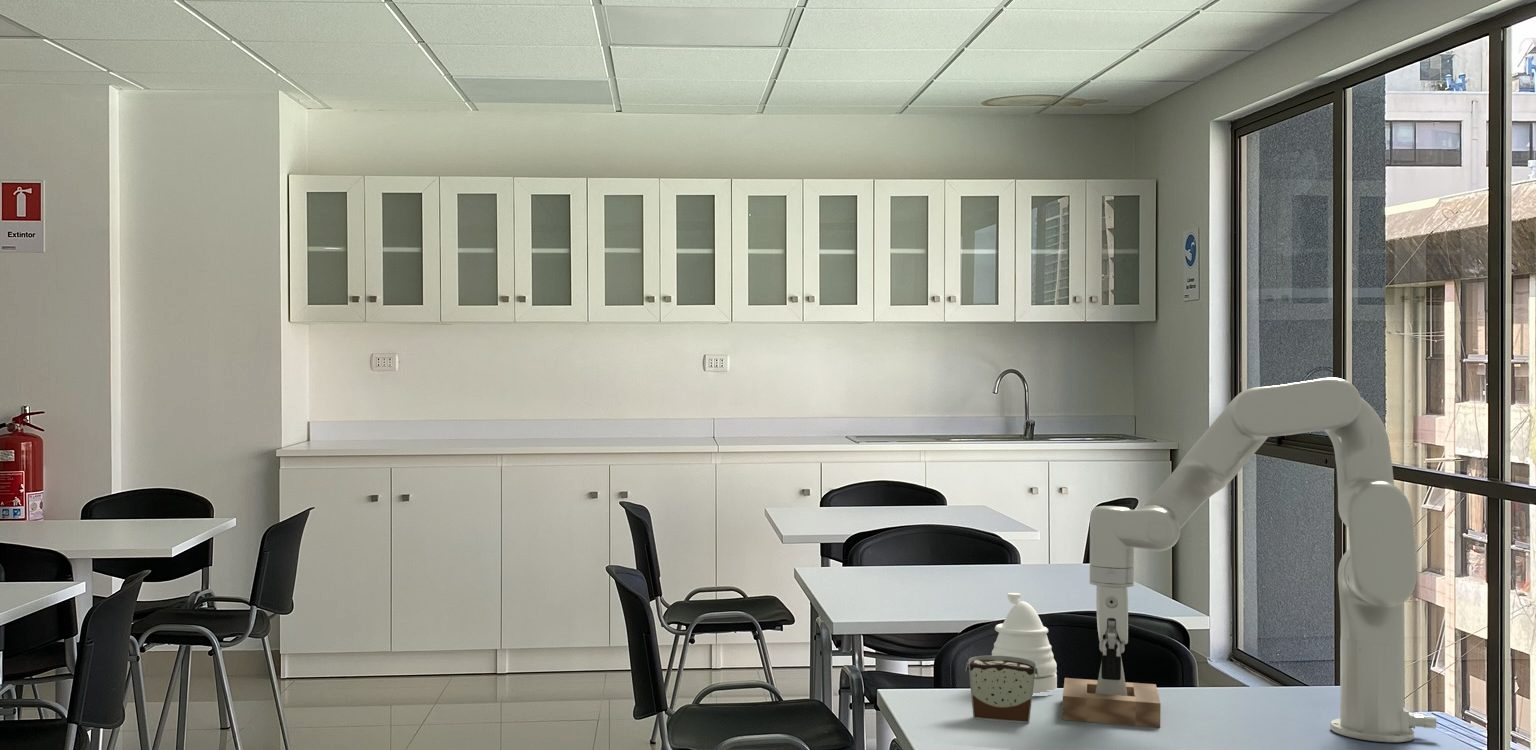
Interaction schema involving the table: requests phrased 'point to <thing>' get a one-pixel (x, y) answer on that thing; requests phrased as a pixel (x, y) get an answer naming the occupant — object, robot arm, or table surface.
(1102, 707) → the brown wooden square frame
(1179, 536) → the robot arm
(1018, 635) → the honey pot
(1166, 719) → the table surface
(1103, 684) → the salt shaker
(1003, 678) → the food container
